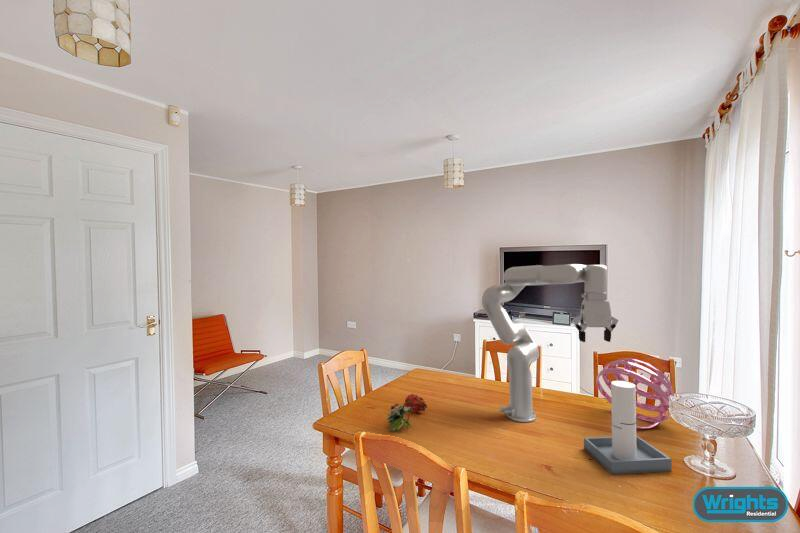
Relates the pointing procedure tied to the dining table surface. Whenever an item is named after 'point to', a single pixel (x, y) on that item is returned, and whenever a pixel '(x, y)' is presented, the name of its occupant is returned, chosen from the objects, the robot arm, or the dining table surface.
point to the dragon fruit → (415, 403)
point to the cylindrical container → (623, 420)
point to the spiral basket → (653, 384)
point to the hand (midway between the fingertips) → (594, 341)
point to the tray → (645, 462)
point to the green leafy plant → (398, 417)
